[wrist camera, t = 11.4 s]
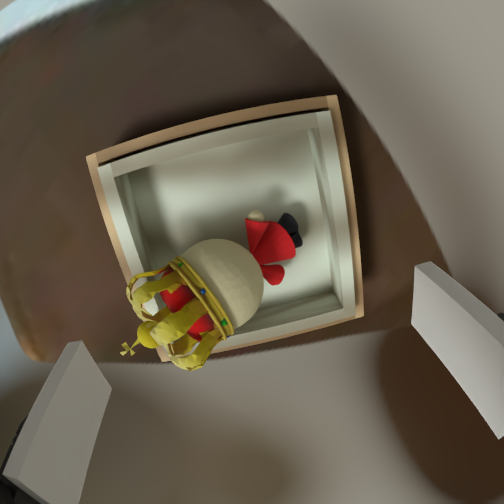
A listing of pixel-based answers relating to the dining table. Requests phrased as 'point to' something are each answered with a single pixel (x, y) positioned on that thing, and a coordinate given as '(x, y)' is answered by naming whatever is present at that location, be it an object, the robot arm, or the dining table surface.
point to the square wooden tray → (242, 207)
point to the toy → (212, 289)
